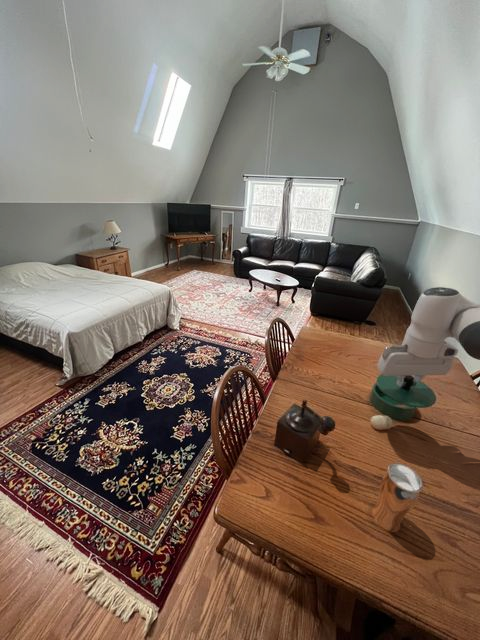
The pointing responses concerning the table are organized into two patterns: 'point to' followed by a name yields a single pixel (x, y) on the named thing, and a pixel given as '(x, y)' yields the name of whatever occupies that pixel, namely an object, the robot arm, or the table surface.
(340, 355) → the table surface
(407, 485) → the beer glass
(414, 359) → the robot arm
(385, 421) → the egg
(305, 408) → the manual coffee grinder
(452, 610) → the table surface
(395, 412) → the basin
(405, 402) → the lid
